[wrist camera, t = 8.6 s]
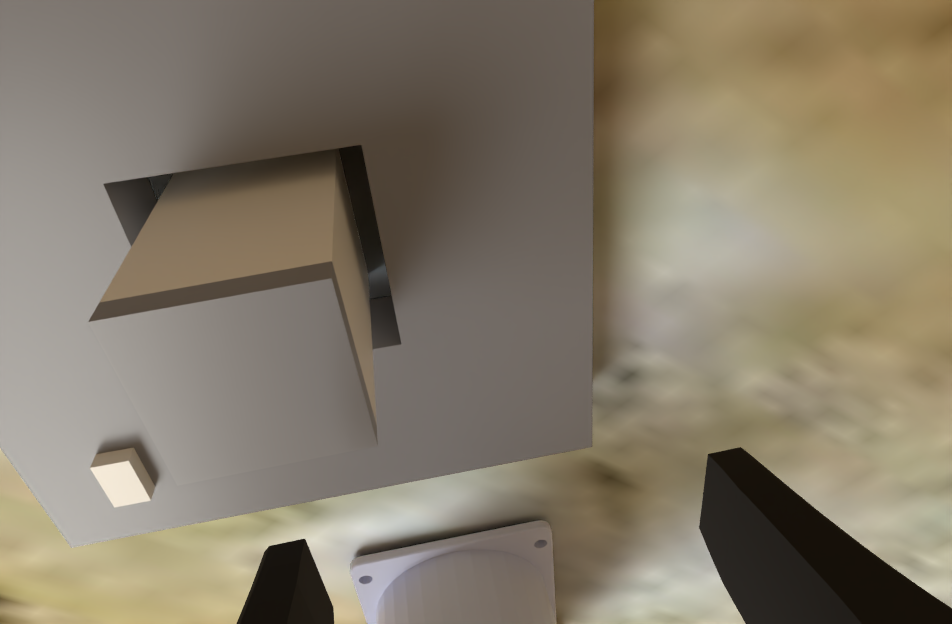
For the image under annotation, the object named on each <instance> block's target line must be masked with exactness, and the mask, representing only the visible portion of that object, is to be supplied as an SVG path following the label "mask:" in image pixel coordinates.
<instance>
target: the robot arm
mask: <svg viewBox="0 0 952 624" xmlns="http://www.w3.org/2000/svg"><path fill="white" fill-rule="evenodd" d="M699 528H700V531H701V533H702V535H703V538H704V540H705V543H706V545H707V548H708V550H709V552H710V555H711V557H712V559H713V562H714V564H715V566H716V568H717V571H718V573H719V575H720V577H721V580H722V582H723V584H724V586H725V587H726V589H727V591H728V593H729V595H730V596H731V598H732V600H733V602H734V604H735V605H736V607H737V609H738V611H739V612H740V614H741V616H742V618H743V619H744V621H745V623H746V624H952V608H951V607H949V606H947V605H946V604H944V603H943V602H941V601H940V600H938V599H937V598H935V597H934V596H932V595H931V594H930V593H928V592H927V591H925V590H924V589H922V588H921V587H919V586H918V585H916V584H915V583H914V582H912V581H911V580H909V579H908V578H906V577H905V576H904V575H902V574H901V573H899V572H898V571H897V570H895V569H894V568H892V567H891V566H890V565H888V564H887V563H885V562H884V561H883V560H881V559H880V558H879V557H877V556H876V555H875V554H873V553H872V552H871V551H869V550H868V549H866V548H865V547H864V546H862V545H861V544H860V543H859V542H857V541H856V540H855V539H853V538H852V537H851V536H850V535H848V534H847V533H846V532H844V531H843V530H842V529H840V528H839V527H838V526H837V525H835V524H834V523H833V522H831V521H830V520H829V519H828V518H826V517H825V516H824V515H823V514H821V513H820V512H819V511H818V510H816V509H815V508H814V507H813V506H811V505H810V504H809V503H808V502H806V501H805V500H804V499H803V498H802V497H800V496H799V495H798V494H797V493H795V492H794V491H793V490H792V489H791V488H789V487H788V486H787V485H786V484H785V483H783V482H782V481H781V480H780V479H779V478H777V477H776V476H775V475H774V474H773V473H771V472H770V471H769V470H768V469H767V468H765V467H764V466H763V465H762V464H761V463H760V462H758V461H757V460H756V459H755V458H754V457H752V456H751V455H750V454H749V453H748V452H746V451H745V450H744V449H742V448H741V447H740V448H735V449H730V450H726V451H721V452H716V453H711V454H708V459H707V467H706V476H705V484H704V492H703V501H702V509H701V517H700V526H699ZM350 575H351V577H352V580H353V583H354V586H355V589H356V592H357V595H358V598H359V601H360V604H361V607H362V610H363V613H364V616H365V619H366V622H367V624H557V623H556V603H555V583H554V562H553V542H552V531H551V528H550V525H549V523H548V522H546V521H542V520H539V521H533V522H528V523H523V524H518V525H513V526H508V527H503V528H498V529H493V530H488V531H483V532H478V533H473V534H468V535H463V536H458V537H453V538H448V539H443V540H439V541H434V542H429V543H424V544H419V545H414V546H409V547H404V548H399V549H394V550H389V551H384V552H379V553H374V554H369V555H364V556H360V557H357V558H355V559H354V560H352V562H351V563H350ZM237 624H334V613H333V606H332V603H331V601H330V598H329V596H328V594H327V591H326V589H325V586H324V584H323V581H322V579H321V576H320V574H319V572H318V569H317V567H316V564H315V562H314V559H313V557H312V555H311V552H310V550H309V547H308V545H307V542H306V540H305V539H301V540H296V541H292V542H287V543H282V544H277V545H272V546H269V547H268V548H267V550H266V551H265V552H264V555H263V558H262V560H261V563H260V566H259V569H258V571H257V574H256V577H255V579H254V582H253V585H252V587H251V590H250V592H249V595H248V597H247V600H246V602H245V605H244V607H243V610H242V612H241V614H240V617H239V619H238V622H237Z"/></svg>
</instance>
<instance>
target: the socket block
mask: <svg viewBox="0 0 952 624" xmlns="http://www.w3.org/2000/svg"><path fill="white" fill-rule="evenodd" d="M593 119H594V0H0V448H1V450H2V451H3V453H4V454H5V455H6V457H7V458H8V460H9V461H10V463H11V464H12V465H13V467H14V468H15V470H16V471H17V472H18V474H19V475H20V477H21V478H22V479H23V481H24V482H25V484H26V485H27V486H28V488H29V489H30V491H31V492H32V493H33V495H34V496H35V498H36V499H37V500H38V502H39V503H40V505H41V506H42V508H43V509H44V510H45V512H46V513H47V515H48V516H49V517H50V519H51V520H52V522H53V523H54V524H55V526H56V527H57V529H58V530H59V531H60V533H61V534H62V536H63V537H64V538H65V540H66V541H67V543H68V544H69V545H70V547H71V548H73V547H78V546H83V545H88V544H93V543H98V542H104V541H109V540H114V539H119V538H124V537H129V536H135V535H140V534H145V533H150V532H155V531H160V530H166V529H171V528H176V527H181V526H186V525H191V524H196V523H202V522H207V521H212V520H217V519H222V518H227V517H233V516H238V515H243V514H248V513H253V512H258V511H264V510H269V509H274V508H279V507H284V506H289V505H295V504H300V503H305V502H310V501H315V500H320V499H326V498H331V497H336V496H341V495H346V494H351V493H357V492H362V491H367V490H372V489H377V488H382V487H387V486H393V485H398V484H403V483H408V482H413V481H418V480H424V479H429V478H434V477H439V476H444V475H449V474H455V473H460V472H465V471H470V470H475V469H480V468H486V467H491V466H496V465H501V464H506V463H511V462H517V461H522V460H527V459H532V458H537V457H542V456H548V455H553V454H558V453H563V452H568V451H573V450H578V449H584V448H589V447H592V364H593ZM356 145H362V150H363V155H364V160H365V165H366V170H367V175H368V180H369V185H370V190H371V195H372V200H373V205H374V210H375V215H376V220H377V225H378V230H379V235H380V240H381V245H382V250H383V255H384V260H385V265H386V270H387V275H388V279H389V284H390V289H391V294H392V296H387V297H381V298H375V299H370V314H371V332H372V350H373V368H374V386H375V404H376V422H377V440H378V446H375V447H370V448H365V449H360V450H354V451H349V452H344V453H339V454H334V455H329V456H324V457H319V458H314V459H309V460H304V461H299V462H294V463H289V464H284V465H279V466H274V467H269V468H264V469H259V470H254V471H249V472H244V473H239V474H234V475H229V476H224V477H219V478H214V479H209V480H204V481H199V482H194V483H189V484H184V485H179V486H177V484H176V482H175V480H174V478H173V477H172V475H171V473H170V471H169V469H168V467H167V466H166V464H165V462H164V460H163V458H162V456H161V455H160V453H159V451H158V449H157V447H156V446H155V444H154V442H153V440H152V438H151V436H150V435H149V433H148V431H147V429H146V427H145V425H144V424H143V422H142V420H141V418H140V416H139V414H138V413H137V411H136V409H135V407H134V405H133V403H132V402H131V400H130V398H129V396H128V394H127V392H126V391H125V389H124V387H123V385H122V383H121V381H120V380H119V378H118V376H117V374H116V372H115V370H114V369H113V367H112V365H111V363H110V361H109V360H108V358H107V356H106V354H105V352H104V350H103V349H102V347H101V345H100V343H99V341H98V339H97V338H96V336H95V334H94V332H93V330H92V328H91V327H90V325H89V323H88V321H89V319H90V318H91V316H92V314H93V313H94V311H95V309H96V307H97V306H98V304H99V302H100V300H101V299H102V297H103V295H104V294H105V292H106V290H107V288H108V287H109V285H110V283H111V281H112V280H113V278H114V276H115V274H116V273H117V271H118V269H119V268H120V266H121V264H122V262H123V261H124V259H125V257H126V255H127V254H128V252H129V250H130V248H131V247H132V245H133V243H134V242H135V240H136V238H137V236H138V235H139V233H140V231H141V229H142V228H143V226H144V224H145V223H146V221H147V219H148V217H149V216H150V214H151V212H152V210H153V209H154V207H155V205H156V203H157V200H156V198H155V195H154V193H153V190H152V188H151V185H150V183H149V180H148V178H147V177H151V176H157V175H164V174H171V173H177V172H184V171H191V170H197V169H204V168H210V167H217V166H224V165H230V164H237V163H244V162H250V161H257V160H264V159H270V158H277V157H283V156H290V155H297V154H303V153H310V152H317V151H323V150H330V149H337V148H343V147H350V146H356Z"/></svg>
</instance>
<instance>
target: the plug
mask: <svg viewBox="0 0 952 624" xmlns="http://www.w3.org/2000/svg"><path fill="white" fill-rule="evenodd" d="M88 323H89V325H90V327H91V328H92V330H93V332H94V334H95V336H96V338H97V339H98V341H99V343H100V345H101V347H102V349H103V350H104V352H105V354H106V356H107V358H108V360H109V361H110V363H111V365H112V367H113V369H114V370H115V372H116V374H117V376H118V378H119V380H120V381H121V383H122V385H123V387H124V389H125V391H126V392H127V394H128V396H129V398H130V400H131V402H132V403H133V405H134V407H135V409H136V411H137V413H138V414H139V416H140V418H141V420H142V422H143V424H144V425H145V427H146V429H147V431H148V433H149V435H150V436H151V438H152V440H153V442H154V444H155V446H156V447H157V449H158V451H159V453H160V455H161V456H162V458H163V460H164V462H165V464H166V466H167V467H168V469H169V471H170V473H171V475H172V477H173V478H174V480H175V482H176V484H177V486H179V485H184V484H189V483H194V482H199V481H204V480H209V479H214V478H219V477H224V476H229V475H234V474H239V473H244V472H249V471H254V470H259V469H264V468H269V467H274V466H279V465H284V464H289V463H294V462H299V461H304V460H309V459H314V458H319V457H324V456H329V455H334V454H339V453H344V452H349V451H354V450H360V449H365V448H370V447H375V446H378V440H377V422H376V404H375V386H374V368H373V350H372V332H371V314H370V296H369V278H368V271H367V266H366V262H365V258H364V254H363V250H362V246H361V241H360V237H359V233H358V229H357V225H356V220H355V216H354V212H353V208H352V204H351V199H350V195H349V191H348V187H347V183H346V178H345V174H344V170H343V166H342V162H341V157H340V153H339V149H338V148H337V149H330V150H323V151H317V152H310V153H303V154H297V155H290V156H283V157H277V158H270V159H264V160H257V161H250V162H244V163H237V164H230V165H224V166H217V167H210V168H204V169H197V170H191V171H184V172H177V173H174V174H173V176H172V177H171V179H170V181H169V183H168V184H167V186H166V188H165V190H164V191H163V193H162V195H161V197H160V198H159V200H158V202H157V203H156V205H155V207H154V209H153V210H152V212H151V214H150V216H149V217H148V219H147V221H146V223H145V224H144V226H143V228H142V229H141V231H140V233H139V235H138V236H137V238H136V240H135V242H134V243H133V245H132V247H131V248H130V250H129V252H128V254H127V255H126V257H125V259H124V261H123V262H122V264H121V266H120V268H119V269H118V271H117V273H116V274H115V276H114V278H113V280H112V281H111V283H110V285H109V287H108V288H107V290H106V292H105V294H104V295H103V297H102V299H101V300H100V302H99V304H98V306H97V307H96V309H95V311H94V313H93V314H92V316H91V318H90V319H89V321H88Z"/></svg>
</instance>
